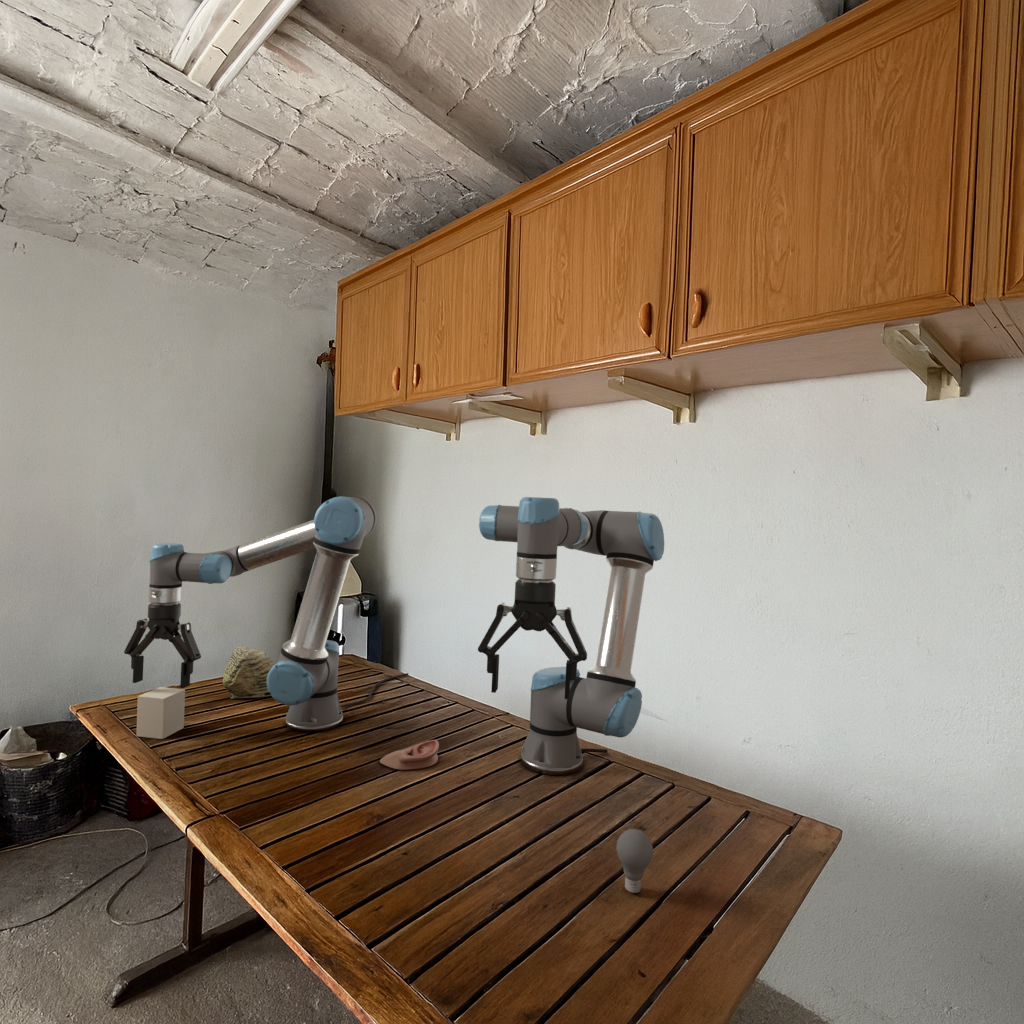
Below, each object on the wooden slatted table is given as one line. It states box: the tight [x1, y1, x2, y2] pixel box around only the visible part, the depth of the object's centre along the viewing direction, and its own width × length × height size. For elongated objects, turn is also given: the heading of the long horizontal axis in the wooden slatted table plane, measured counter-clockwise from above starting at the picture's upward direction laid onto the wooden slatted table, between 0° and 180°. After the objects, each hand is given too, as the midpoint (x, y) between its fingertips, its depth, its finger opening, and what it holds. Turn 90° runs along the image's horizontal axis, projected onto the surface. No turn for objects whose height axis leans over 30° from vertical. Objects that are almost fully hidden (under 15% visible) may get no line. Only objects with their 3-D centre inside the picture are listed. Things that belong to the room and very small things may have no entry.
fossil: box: [222, 646, 276, 699], centre depth 198 cm, size 9×18×15 cm, turn 132°
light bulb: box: [615, 828, 654, 894], centre depth 106 cm, size 6×6×10 cm
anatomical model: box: [379, 739, 440, 771], centre depth 154 cm, size 13×4×12 cm
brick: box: [135, 686, 186, 740], centre depth 165 cm, size 8×7×10 cm
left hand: (161, 684), depth 165 cm, fingers open, 13 cm apart
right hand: (530, 693), depth 118 cm, fingers open, 13 cm apart
